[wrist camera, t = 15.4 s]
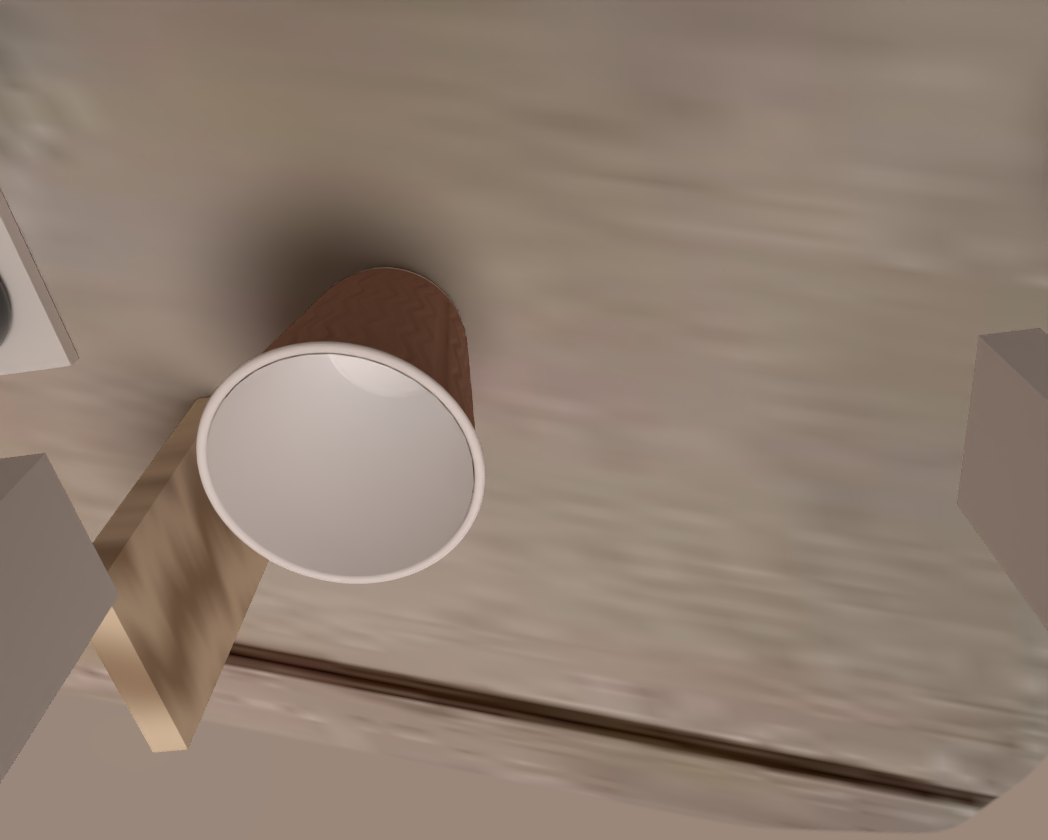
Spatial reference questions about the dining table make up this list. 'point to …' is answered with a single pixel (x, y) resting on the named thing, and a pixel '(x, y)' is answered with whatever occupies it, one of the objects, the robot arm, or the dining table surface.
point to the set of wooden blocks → (172, 592)
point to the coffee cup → (350, 435)
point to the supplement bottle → (4, 314)
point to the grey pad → (28, 308)
